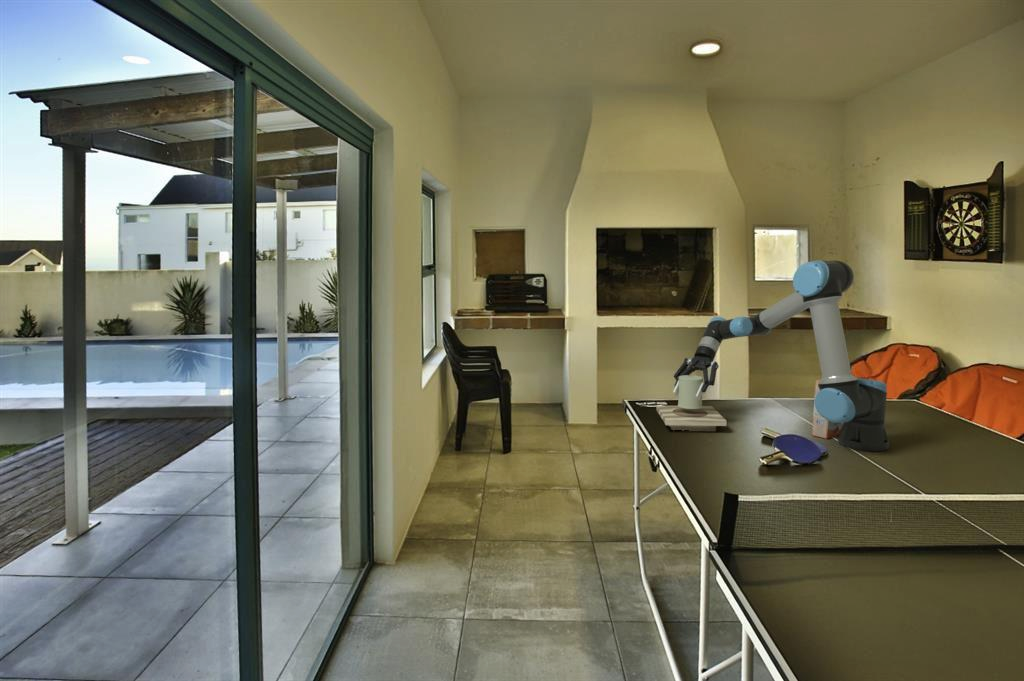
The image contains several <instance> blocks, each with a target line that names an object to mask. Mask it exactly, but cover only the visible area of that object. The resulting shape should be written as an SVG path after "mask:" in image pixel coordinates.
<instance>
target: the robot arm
mask: <svg viewBox="0 0 1024 681" xmlns="http://www.w3.org/2000/svg"><path fill="white" fill-rule="evenodd" d="M854 276H855V274H854V272H853V269H852V267H851V266H850V265H848V263H846V262H844V261H841V260H812V261H807V262H805V263H802V264H801V265H799V267H798V268H797V269H796V270H795V271H794V275H793V277H792V285H793V286H792V287H793V288H794V292H793V293H791V294H789V295H787V296H786V297H784V298H783V299H781V300H779V301H778V302H776V303H774V304H773V305H770V306H769V307H768V308H765V309H764V310H762V311H761V312H759V313H757V314H756V315H754V316H749V317H748V316H737V317H735V318H730V319H726V318H724V317H721V316H719V317H718V316H714V317H712V318H711V319H710V321H709V323H708V324H707V326H706V329H705V331H704V333H703V335H702V337H701V340H700V341H699V344H698V345H697V346H698V347H697V348H696V350H695V352H694V355H693V358H691V359H688V357H685V358H684V360H683V362H682V364H681V365H680V366H679V368H678V369H677V370H676V371H675V373H674V374H673V377H674V379H675V383H674V385H673V386H674V389H673V391H672V393H673V395H674V396H675V397H678V396H679V376H683V375H691V374H692V373H695V371H700V372H702V375H703V382H702V383H701V385H700V387H699V390H698V392H697V394H696V398H697V399H698V400H700V399H701V396H702V397H703V394H704V393H706V392H707V390H708V387H710V386H711V387H712V386H714V385H715V384H716V383H715V381H716V377H717V370H718V369H719V368H720V366H719V364H718V361H714V360H715V358H716V356H717V353H718V350H719V348H720V346H721V343H722V342H723V341H724V340H729V339H735V338H743V337H744V338H745V337H751V336H752V337H753V336H763V335H767V334H769V333H771V332H772V329H773V328H775V327H777V326H778V325H780V324H781V323H784V322H785V321H787V320H789V319H791V318H793V317H795V316H796V315H798V314H801V313H802V312H804V311H806V310H807V309H809V312H810V317H811V323H812V328H813V334H814V339H815V344H816V350H817V356H818V360H819V367H820V370H821V371H820V372H821V378H820V379H821V380H820V381H819V383H818V384H819V390H820V391H819V392H818V393H817V395H816V396H815V395H814V397H815V407H816V409H817V411H818V413H819V414H820V415H821V416H822V417H824V418H825V419H826V420H828V421H830V422H835V423H839V422H844V424H843V426H842V428H841V430H840V432H839V435H837V443H838V444H839V445H842V446H844V447H846V448H850V449H853V450H859V451H865V452H883V451H887V450H889V449H890V448H889V446H890V439H889V436H888V434H887V433H888V432H887V430H886V429H887V428H886V426H885V419H886V409H887V408H886V407H887V396H888V385H887V384H886V383H885V382H884V381H882V380H881V381H880V380H876V379H869V378H863V377H856V376H855V375H854V374H852V370H851V364H850V360H849V353H848V348H847V343H846V337H845V332H844V327H843V321H842V316H841V312H840V305H839V302H841V300H842V298H843V294H844V293H846V291H848V290H849V289H850V288H851V287H852V285H853V283H854V279H855V277H854ZM710 367H711V368H710ZM708 368H710V373H709V374H710V375H709V374H708V372H709V370H708Z"/></svg>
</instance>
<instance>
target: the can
mask: <svg viewBox="0 0 1024 681" xmlns="http://www.w3.org/2000/svg"><path fill="white" fill-rule="evenodd" d="M702 382H703V383H704V376H703V377H702V376H700V375H695V374H694V375H691V374H690V375H683V376H679V393H678V395H677V397H678V398H677V400H678V402H677V403H678V404H677V406H679V407H681V408H684V409H700V408H702V406H703V395H702V396H701V399H700V400H698V399H697V398H696V394H697V392H698V390H699V387H700V385H701V383H702Z"/></svg>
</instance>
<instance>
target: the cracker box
mask: <svg viewBox="0 0 1024 681" xmlns="http://www.w3.org/2000/svg"><path fill="white" fill-rule="evenodd" d="M821 379H822V378H820V379H816V380H815V385H814V401H813V415H812V425H811V427H812V428H811V429H812V430H811V436H813V437H817V438H820V439H826V440H828V439H830V438H832V437H835V436H838V435H839V432H840V430H841V428H842V426H843V424H844V422H839V423H835V422H830V421H828V420H826V419H825V418H824V417H822V416H821V415H820V414H819V413H818V411H817V409H816V407H815V396H816V395H817V393H818V392H819V391H820V390H819V384H818V383H819V381H820V380H821Z"/></svg>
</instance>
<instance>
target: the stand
mask: <svg viewBox="0 0 1024 681" xmlns="http://www.w3.org/2000/svg"><path fill="white" fill-rule="evenodd" d="M656 412H657V413H658V415H659V416H660V418H661V420H662V421H663V423H664V425H665V426H669V428H670V427H671V428H670V430H673V431H672V432H675V431H674V430H682V431H681V432H685V431H684V430H689V431H688V432H717V427H727V419H726V418H725V417H724V416H722V415H721V414H720V413H719V412H718V411H717V410H716V408H714V407H713V406H712V405H702V408H700V409H684V408H681V407H679V406H678V405H656Z"/></svg>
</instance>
